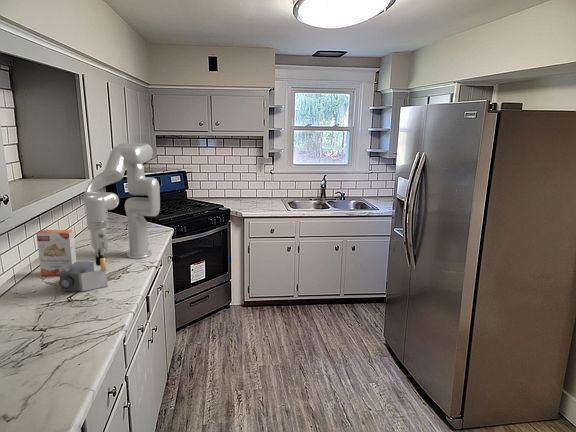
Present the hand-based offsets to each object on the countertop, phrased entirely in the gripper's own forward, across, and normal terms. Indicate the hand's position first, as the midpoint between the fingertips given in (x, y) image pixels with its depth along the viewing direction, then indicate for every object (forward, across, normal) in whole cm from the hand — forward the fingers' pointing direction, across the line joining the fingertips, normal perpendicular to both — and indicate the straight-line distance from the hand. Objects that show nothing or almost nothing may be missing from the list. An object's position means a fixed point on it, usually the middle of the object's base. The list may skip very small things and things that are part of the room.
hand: (100, 264), depth 177 cm
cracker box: (+10, +24, +13) cm, 29 cm away
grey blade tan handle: (+9, -3, +4) cm, 11 cm away
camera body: (+10, +5, +9) cm, 14 cm away
